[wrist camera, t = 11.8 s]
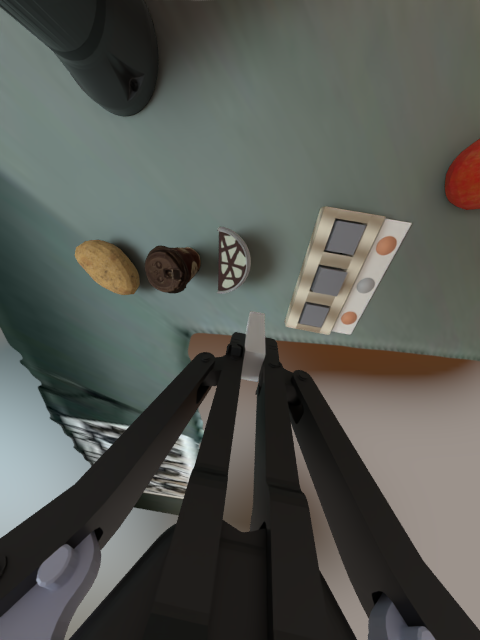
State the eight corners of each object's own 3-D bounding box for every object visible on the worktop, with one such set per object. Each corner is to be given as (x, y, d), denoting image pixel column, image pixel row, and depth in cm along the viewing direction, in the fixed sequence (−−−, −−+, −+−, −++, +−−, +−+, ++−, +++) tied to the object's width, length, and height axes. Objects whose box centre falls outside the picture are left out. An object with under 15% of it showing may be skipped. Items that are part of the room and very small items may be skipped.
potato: (137, 297, 49) (116, 308, 42) (91, 256, 45) (60, 262, 38) (157, 274, 45) (137, 283, 38) (109, 228, 41) (78, 228, 34)
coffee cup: (213, 261, 42) (195, 274, 30) (193, 285, 45) (170, 305, 34) (184, 234, 40) (152, 236, 28) (165, 261, 43) (130, 273, 32)
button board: (320, 207, 35) (325, 206, 32) (376, 217, 34) (385, 216, 32) (284, 321, 47) (285, 326, 44) (325, 328, 47) (329, 334, 44)
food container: (250, 284, 44) (246, 299, 35) (225, 282, 44) (216, 295, 35) (255, 229, 38) (253, 229, 29) (227, 226, 38) (217, 226, 29)
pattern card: (383, 218, 34) (386, 218, 34) (409, 223, 34) (412, 223, 33) (330, 329, 47) (331, 331, 46) (349, 333, 47) (350, 335, 46)
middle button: (317, 265, 38) (322, 268, 36) (341, 269, 38) (347, 272, 35) (309, 287, 41) (313, 292, 38) (331, 291, 41) (337, 296, 38)
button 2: (332, 221, 35) (338, 220, 32) (357, 225, 35) (366, 225, 32) (322, 248, 38) (327, 250, 35) (346, 253, 37) (353, 255, 35)
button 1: (304, 299, 43) (307, 304, 40) (325, 303, 43) (329, 308, 40) (297, 317, 46) (300, 323, 43) (317, 321, 46) (321, 327, 43)
